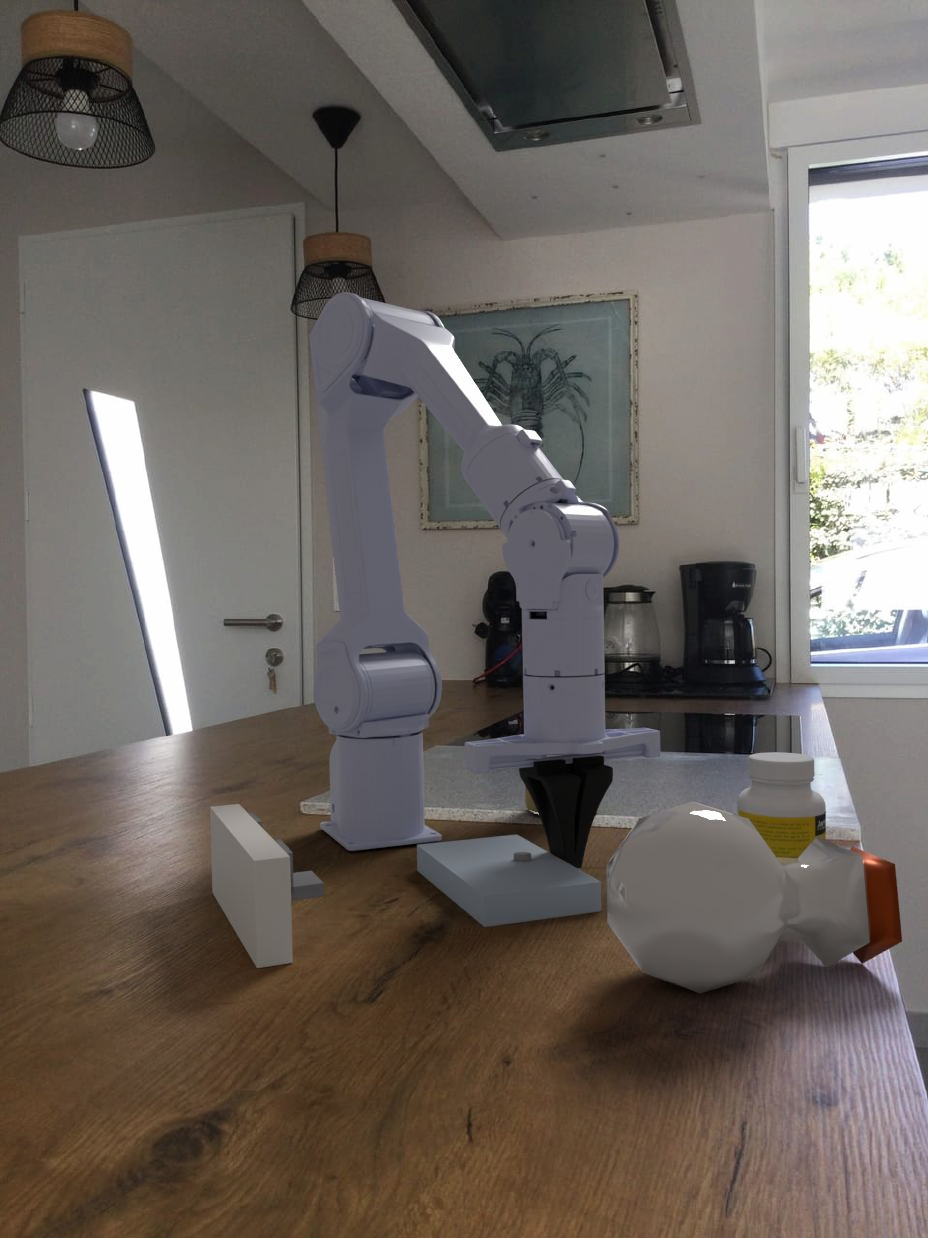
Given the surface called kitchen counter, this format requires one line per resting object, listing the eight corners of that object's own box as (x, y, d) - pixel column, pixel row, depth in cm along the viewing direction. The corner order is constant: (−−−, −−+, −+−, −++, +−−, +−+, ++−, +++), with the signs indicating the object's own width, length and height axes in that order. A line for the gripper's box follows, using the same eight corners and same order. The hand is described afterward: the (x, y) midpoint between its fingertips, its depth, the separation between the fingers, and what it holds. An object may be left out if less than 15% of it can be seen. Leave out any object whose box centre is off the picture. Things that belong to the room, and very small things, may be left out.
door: (417, 877, 78) (416, 839, 78) (517, 865, 81) (516, 829, 81) (484, 935, 65) (484, 889, 65) (601, 919, 68) (600, 875, 68)
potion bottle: (587, 1010, 55) (842, 1013, 59) (658, 952, 48) (947, 959, 51) (569, 843, 61) (804, 854, 64) (629, 767, 53) (893, 784, 56)
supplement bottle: (832, 926, 64) (831, 764, 63) (739, 922, 65) (738, 763, 65) (820, 899, 69) (819, 750, 69) (735, 896, 70) (733, 749, 70)
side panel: (212, 892, 73) (210, 806, 73) (275, 884, 75) (273, 800, 75) (257, 968, 58) (254, 860, 58) (334, 956, 60) (331, 851, 60)
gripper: (492, 684, 68) (496, 893, 68) (683, 672, 73) (686, 867, 74) (451, 676, 74) (455, 867, 75) (630, 666, 80) (632, 844, 80)
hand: (566, 866), depth 75 cm, fingers closed
